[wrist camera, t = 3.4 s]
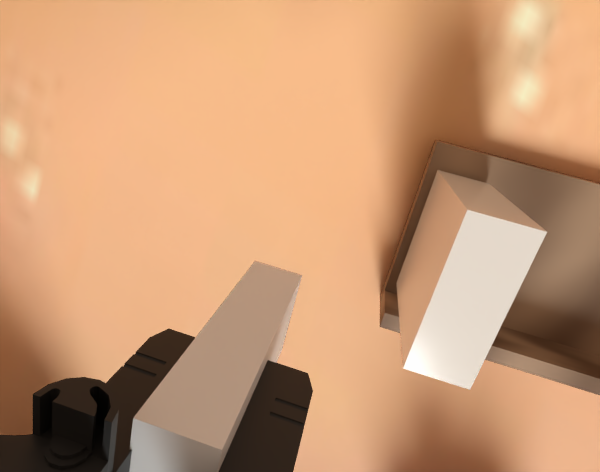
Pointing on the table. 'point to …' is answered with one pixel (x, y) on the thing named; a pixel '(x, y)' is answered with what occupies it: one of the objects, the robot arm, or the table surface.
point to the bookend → (461, 277)
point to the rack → (532, 266)
